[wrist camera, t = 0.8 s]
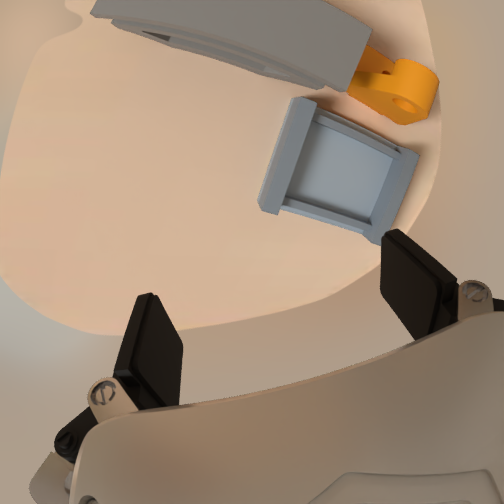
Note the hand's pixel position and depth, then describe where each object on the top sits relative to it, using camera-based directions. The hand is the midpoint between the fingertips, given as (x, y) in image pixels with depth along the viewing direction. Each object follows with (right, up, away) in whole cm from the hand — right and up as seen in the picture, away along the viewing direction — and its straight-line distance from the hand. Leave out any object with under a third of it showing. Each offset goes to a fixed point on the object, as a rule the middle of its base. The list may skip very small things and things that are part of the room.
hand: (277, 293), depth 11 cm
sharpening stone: (-4, +28, +15) cm, 32 cm away
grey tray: (+10, +12, +25) cm, 29 cm away
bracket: (+15, +24, +19) cm, 35 cm away
